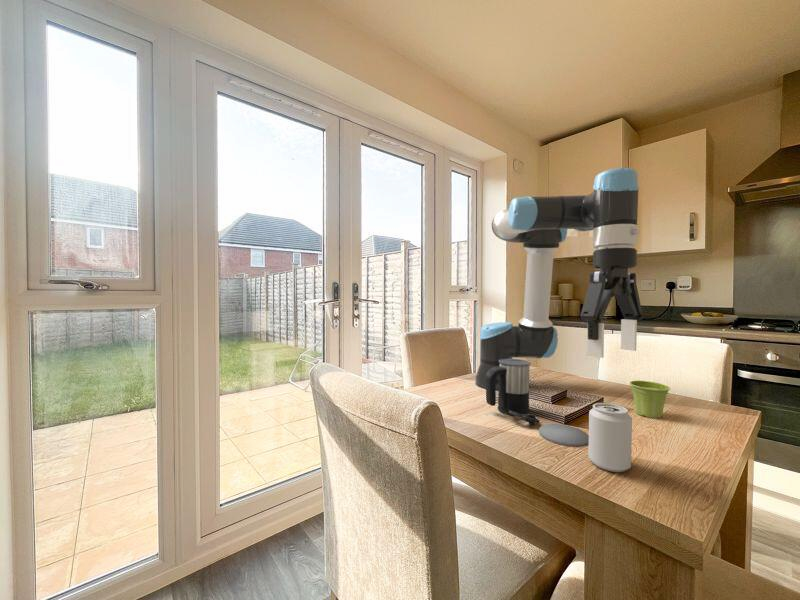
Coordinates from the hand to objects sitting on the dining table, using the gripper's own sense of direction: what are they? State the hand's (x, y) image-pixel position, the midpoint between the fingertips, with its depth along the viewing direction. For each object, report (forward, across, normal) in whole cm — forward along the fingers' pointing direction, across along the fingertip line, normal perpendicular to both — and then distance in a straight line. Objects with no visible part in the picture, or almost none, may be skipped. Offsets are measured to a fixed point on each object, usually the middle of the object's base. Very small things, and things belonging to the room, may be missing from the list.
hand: (612, 353), depth 69 cm
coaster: (+23, +5, +13) cm, 27 cm away
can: (+23, 0, 0) cm, 23 cm away
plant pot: (+23, +39, +8) cm, 46 cm away
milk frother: (+23, +7, +28) cm, 37 cm away
